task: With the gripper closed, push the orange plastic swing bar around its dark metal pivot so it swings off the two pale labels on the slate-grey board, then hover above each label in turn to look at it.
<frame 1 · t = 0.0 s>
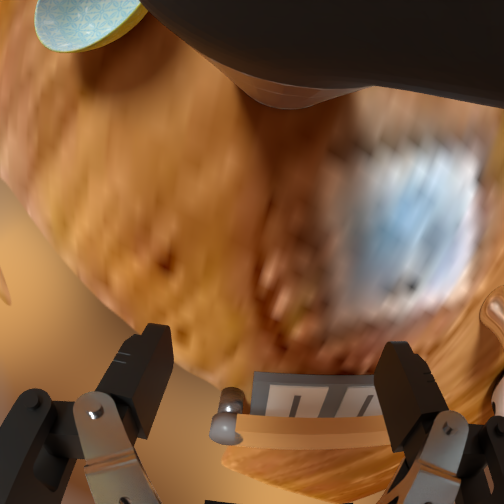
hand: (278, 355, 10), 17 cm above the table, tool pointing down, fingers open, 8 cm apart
beer glass: (495, 304, 29), on the table
label board: (323, 407, 37), on the table
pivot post: (232, 394, 37), on the table
bowl: (122, 7, 19), on the table
swing bar: (311, 434, 31), point 6 cm above the table, hinge at 0.0°
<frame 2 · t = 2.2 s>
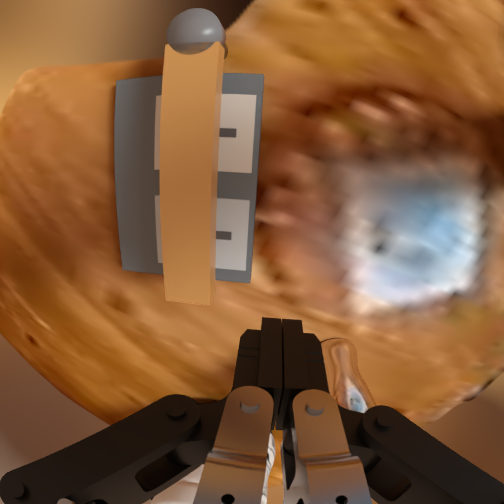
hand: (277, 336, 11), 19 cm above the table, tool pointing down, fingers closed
beer glass: (333, 355, 36), on the table
label board: (185, 177, 28), on the table
swing bar: (189, 158, 22), point 6 cm above the table, hinge at 0.0°
milk container: (222, 425, 44), on the table
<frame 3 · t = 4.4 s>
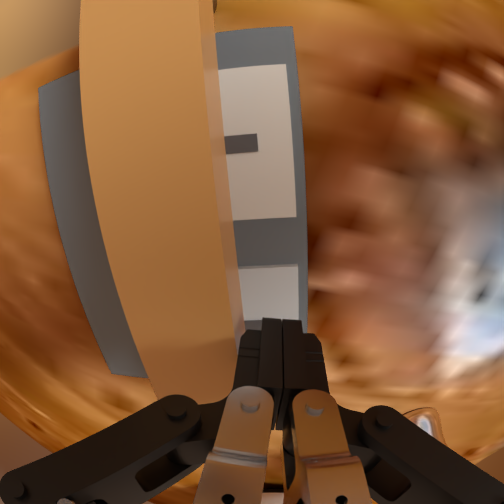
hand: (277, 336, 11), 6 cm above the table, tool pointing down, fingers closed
beer glass: (410, 424, 23), on the table
label board: (175, 232, 16), on the table
swing bar: (168, 216, 10), point 6 cm above the table, hinge at 0.0°, touching gripper
milk container: (273, 498, 31), on the table
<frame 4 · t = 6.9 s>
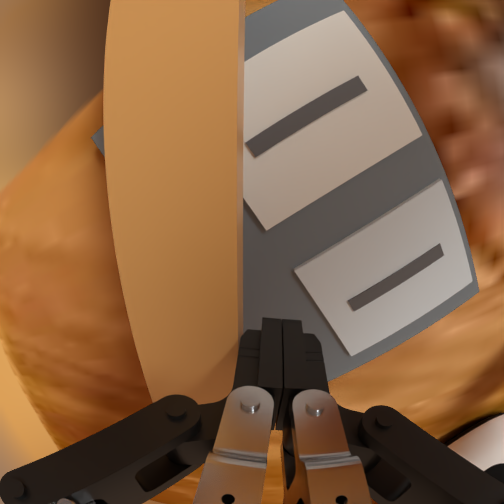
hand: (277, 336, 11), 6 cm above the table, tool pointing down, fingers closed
label board: (317, 210, 16), on the table
swing bar: (180, 210, 10), point 6 cm above the table, hinge at -35.0°, touching gripper
milk container: (464, 442, 26), on the table
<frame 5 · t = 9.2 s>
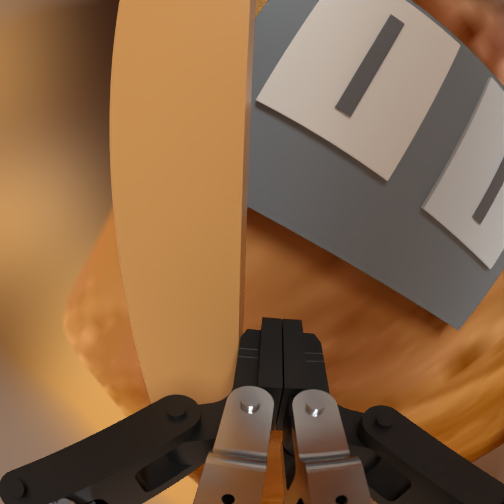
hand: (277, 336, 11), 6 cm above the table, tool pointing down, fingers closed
label board: (412, 147, 14), on the table
swing bar: (184, 208, 10), point 6 cm above the table, hinge at -63.6°, touching gripper
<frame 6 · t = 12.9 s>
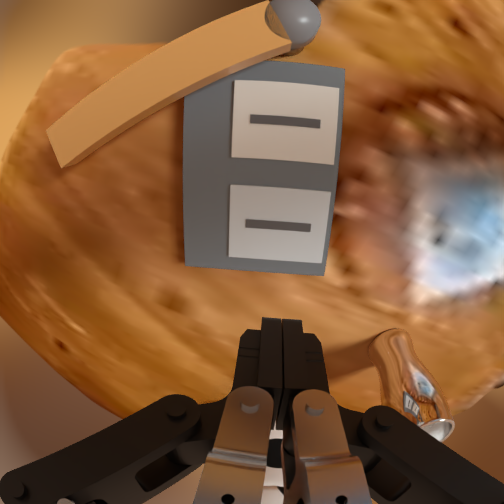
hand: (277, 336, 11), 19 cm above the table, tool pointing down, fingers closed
beer glass: (389, 345, 35), on the table
label board: (260, 167, 28), on the table
swing bar: (170, 73, 20), point 6 cm above the table, hinge at -63.7°
milk container: (270, 424, 43), on the table
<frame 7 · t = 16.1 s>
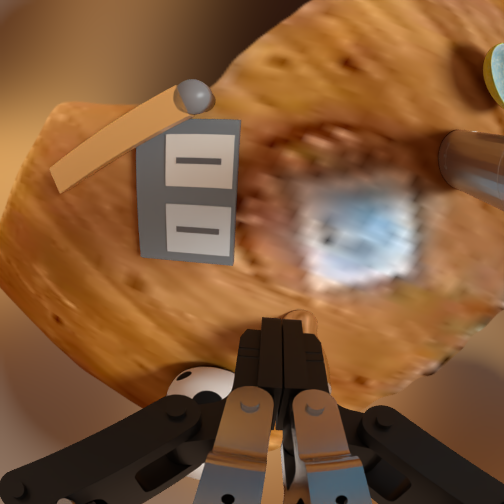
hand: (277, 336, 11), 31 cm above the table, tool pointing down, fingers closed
beer glass: (299, 324, 49), on the table
label board: (186, 191, 41), on the table
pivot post: (204, 101, 36), on the table
bowl: (492, 81, 30), on the table
swing bar: (122, 136, 33), point 6 cm above the table, hinge at -63.7°
milk container: (215, 388, 56), on the table
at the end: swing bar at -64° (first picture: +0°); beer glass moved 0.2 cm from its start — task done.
